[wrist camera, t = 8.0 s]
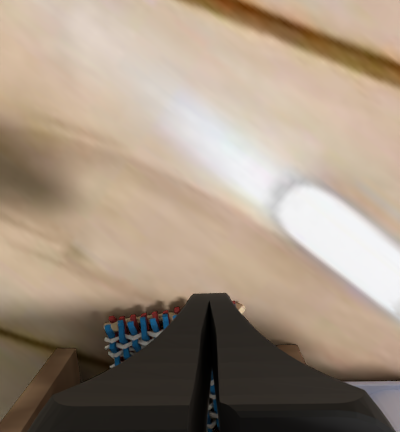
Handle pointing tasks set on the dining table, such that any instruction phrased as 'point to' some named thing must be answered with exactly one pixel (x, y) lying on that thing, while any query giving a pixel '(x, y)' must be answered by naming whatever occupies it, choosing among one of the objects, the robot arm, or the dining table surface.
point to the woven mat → (143, 337)
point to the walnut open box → (62, 386)
